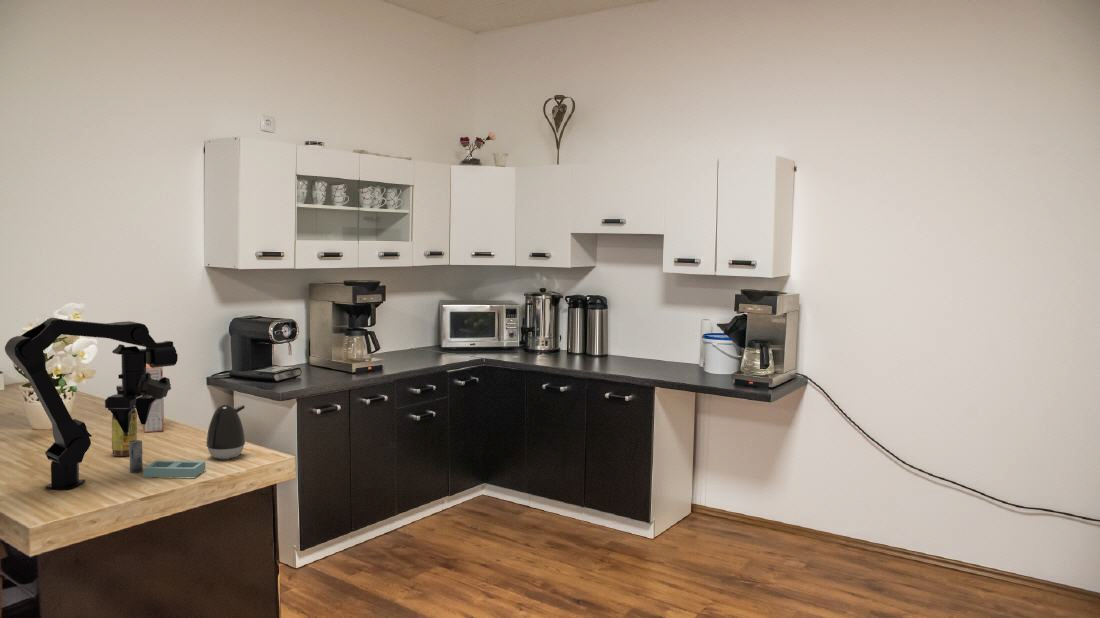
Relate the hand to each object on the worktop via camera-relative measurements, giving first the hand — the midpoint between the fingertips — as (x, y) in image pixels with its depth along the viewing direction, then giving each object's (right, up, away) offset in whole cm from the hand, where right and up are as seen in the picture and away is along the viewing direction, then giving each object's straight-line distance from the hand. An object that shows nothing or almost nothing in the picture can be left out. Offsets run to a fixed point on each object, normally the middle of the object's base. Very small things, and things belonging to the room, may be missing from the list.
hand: (135, 428), depth 209 cm
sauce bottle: (-12, -10, +17) cm, 23 cm away
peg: (0, -12, +1) cm, 12 cm away
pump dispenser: (+17, -11, +17) cm, 26 cm away
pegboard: (+11, -12, -1) cm, 16 cm away
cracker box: (-19, -7, +48) cm, 53 cm away
